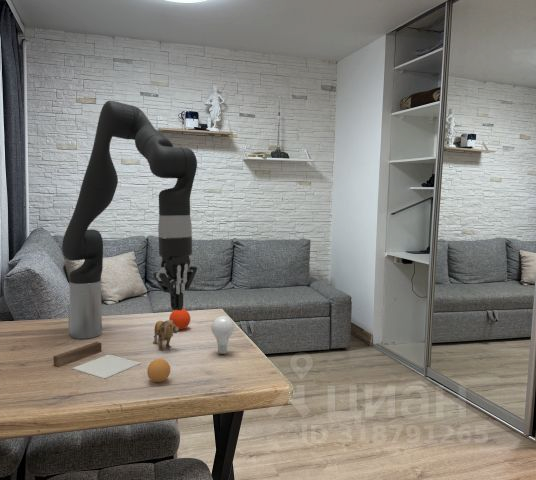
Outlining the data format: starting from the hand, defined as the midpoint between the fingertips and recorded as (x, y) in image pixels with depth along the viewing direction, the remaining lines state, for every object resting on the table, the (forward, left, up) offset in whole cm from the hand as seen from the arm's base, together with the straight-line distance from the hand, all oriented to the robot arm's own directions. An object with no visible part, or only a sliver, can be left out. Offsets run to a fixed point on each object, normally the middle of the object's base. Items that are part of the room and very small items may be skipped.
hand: (177, 309), depth 110 cm
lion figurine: (-23, +21, -19) cm, 36 cm away
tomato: (-30, +36, -19) cm, 51 cm away
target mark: (-24, 0, -19) cm, 31 cm away
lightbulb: (-4, +24, -19) cm, 31 cm away
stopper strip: (-35, 0, -19) cm, 40 cm away
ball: (-6, 0, -16) cm, 17 cm away
